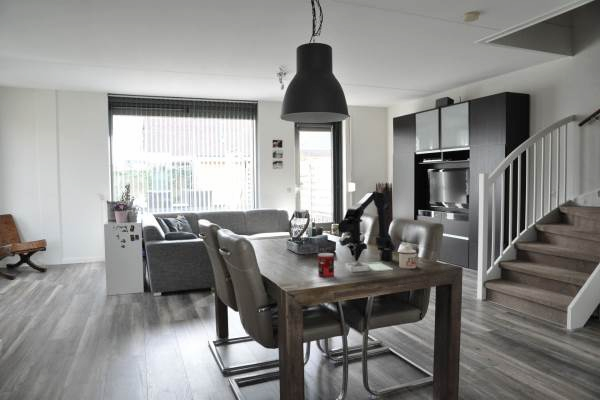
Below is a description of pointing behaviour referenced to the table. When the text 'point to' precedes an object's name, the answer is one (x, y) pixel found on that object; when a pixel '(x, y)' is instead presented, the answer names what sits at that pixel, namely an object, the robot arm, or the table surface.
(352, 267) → the open box
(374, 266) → the tray
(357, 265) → the pebble
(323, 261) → the canned food
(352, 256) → the pebble
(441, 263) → the table surface
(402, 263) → the teacup with lid
